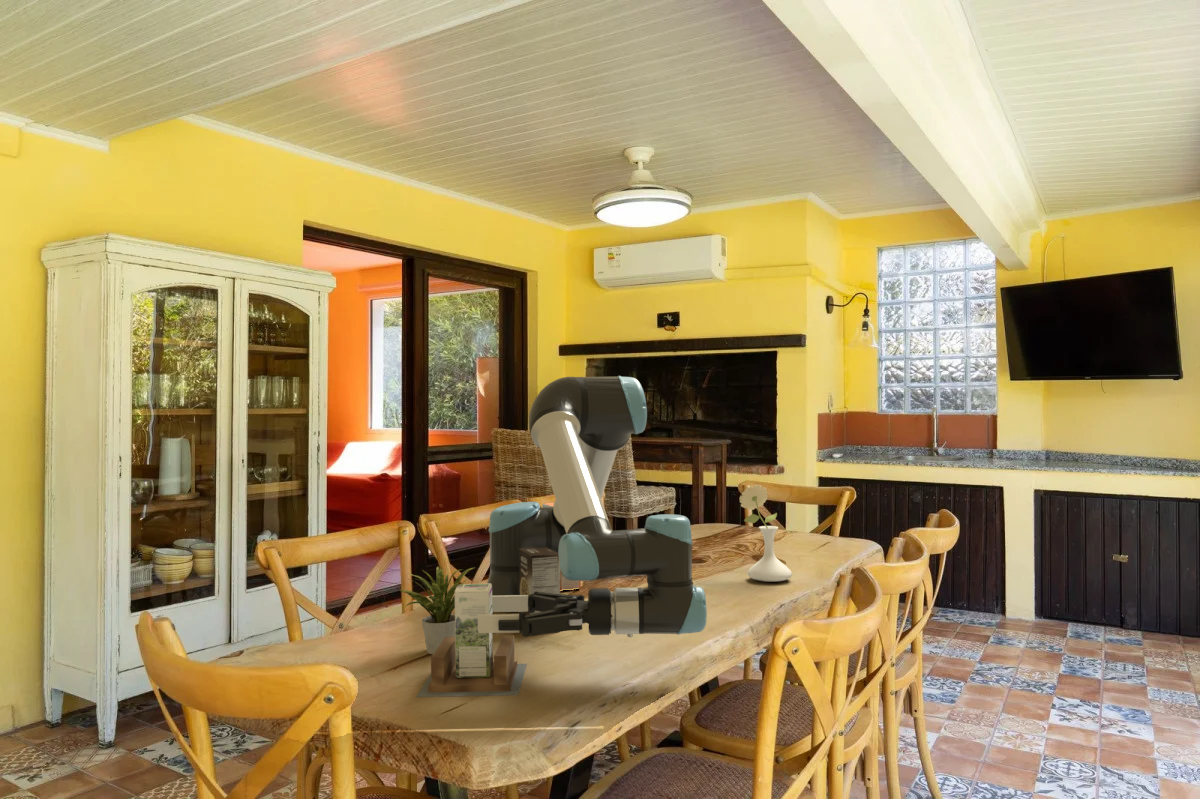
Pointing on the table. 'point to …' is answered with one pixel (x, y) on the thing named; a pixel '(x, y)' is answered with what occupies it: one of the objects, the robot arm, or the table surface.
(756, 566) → the flower in vase
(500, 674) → the rack
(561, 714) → the table surface
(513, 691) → the mat
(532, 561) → the coffee box
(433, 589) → the house plant
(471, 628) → the syrup box
